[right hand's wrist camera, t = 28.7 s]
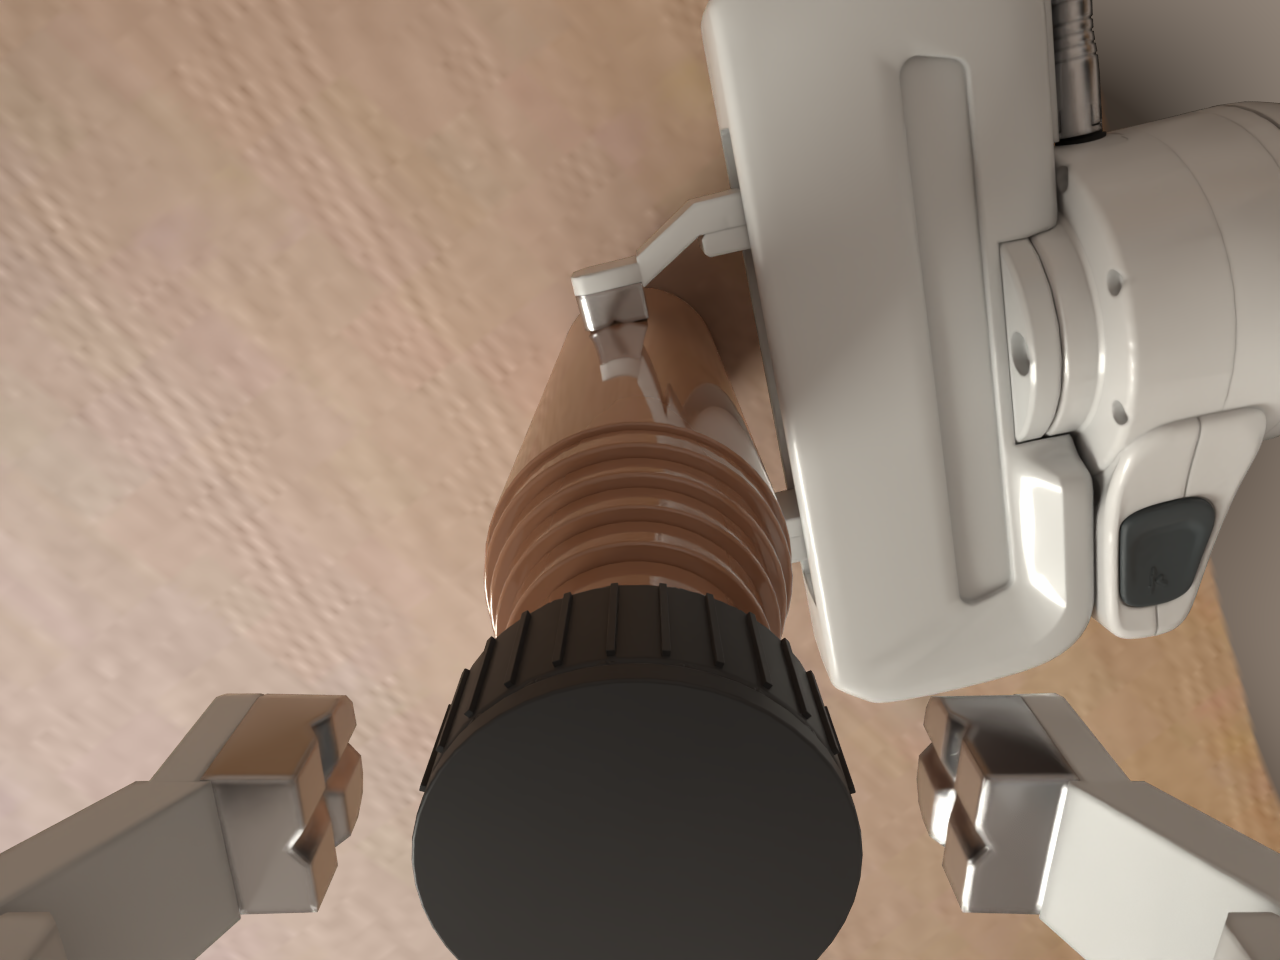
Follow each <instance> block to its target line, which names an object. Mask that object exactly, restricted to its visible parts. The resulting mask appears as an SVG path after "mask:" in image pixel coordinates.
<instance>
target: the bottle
mask: <svg viewBox="0 0 1280 960" xmlns="http://www.w3.org/2000/svg"><path fill="white" fill-rule="evenodd" d="M644 289H645V294H646V299H647V304H648V313H649V318H647V319H643V320H638V321H634V322H628V323H621V322H619V321H616V320H614V321H613V323H612V324H611V325H610V326H609V327H605V328H603V329H600V330H595V331H585V329H584V325H583V322H582V318H581V315H580V314H579V315H578V317H577V318H576V320H575V321H574V323H573V324H572V326H571V328H570V330H569V332H568V334H567V336H566V339H565V341H564V343H563V346H562V348H561V351H560V353H559V356H558V358H557V360H556V363H555V365H554V368H553V370H552V373H551V375H550V377H549V380H548V382H547V385H546V387H545V390H544V392H543V394H542V397H541V399H540V402H539V404H538V407H537V409H536V411H535V414H534V416H533V419H532V421H531V424H530V426H529V428H528V431H527V433H526V436H525V438H524V441H523V443H522V445H521V448H520V450H519V453H518V455H517V458H516V460H515V462H514V465H513V467H512V470H511V472H510V475H509V477H508V479H507V482H506V484H505V487H504V489H503V492H502V494H501V496H500V499H499V501H498V504H497V506H496V509H495V511H494V514H493V517H492V520H491V523H490V526H489V530H488V535H487V540H486V549H485V568H484V589H485V599H486V603H487V608H488V612H489V616H490V619H491V623H492V627H493V632H494V636H495V639H496V638H497V637H498V636H499V635H500V634H501V633H502V632H503V631H505V630H506V629H507V628H509V627H510V626H511V625H513V624H514V623H516V622H517V621H518V620H520V618H521V614H522V613H523V612H525V611H527V610H528V611H529V613H531V612H533V611H535V610H537V609H539V608H541V607H542V606H544V605H546V604H547V603H551V602H552V601H554V600H557V599H561V598H563V595H564V594H565V593H568V592H571V594H576V593H580V592H584V591H588V590H592V589H596V588H603V587H606V586H610V585H611V583H618V585H654V586H659V583H665V584H667V587H676V588H678V589H679V588H682V589H685V590H688V591H691V592H695V593H699V594H702V595H706V593H710V594H713V595H714V599H716V600H719V601H722V602H724V603H726V604H728V605H730V606H733V607H736V608H737V609H738V610H742V611H743V612H744V613H746V614H748V612H749V611H750V612H752V613H753V614H755V616H756V620H757V621H758V622H759V623H761V624H762V625H764V626H765V627H767V628H768V629H769V630H770V631H771V632H772V633H773V634H775V635H776V636H777V637H778V638H779V639H780V640H781V637H782V634H783V630H784V624H785V620H786V617H787V614H788V611H789V606H790V601H791V595H792V579H793V574H792V564H791V563H792V553H791V543H790V536H789V532H788V528H787V524H786V520H785V518H784V515H783V513H782V510H781V508H780V505H779V503H778V500H777V498H776V495H775V493H774V490H773V488H772V485H771V483H770V480H769V478H768V475H767V473H766V470H765V468H764V465H763V463H762V460H761V458H760V455H759V453H758V450H757V448H756V445H755V443H754V440H753V438H752V435H751V433H750V430H749V428H748V425H747V423H746V420H745V418H744V415H743V413H742V410H741V408H740V405H739V403H738V400H737V398H736V395H735V393H734V390H733V388H732V385H731V383H730V381H729V378H728V376H727V373H726V371H725V368H724V366H723V363H722V361H721V358H720V356H719V353H718V351H717V348H716V346H715V343H714V341H713V338H712V336H711V333H710V331H709V329H708V327H707V325H706V324H705V322H704V320H703V319H702V318H701V317H700V315H699V314H698V313H697V312H696V311H695V310H694V309H693V308H692V307H691V306H690V305H689V304H687V303H686V302H685V301H683V300H682V299H680V298H679V297H677V296H675V295H673V294H671V293H668V292H666V291H663V290H659V289H655V288H648V287H644Z"/></svg>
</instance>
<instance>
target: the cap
mask: <svg viewBox="0 0 1280 960" xmlns="http://www.w3.org/2000/svg"><path fill="white" fill-rule="evenodd" d="M419 791H423V792H424V795H423V798H422V801H421V804H420V806H419V809H418V812H417V816H416V821H415V826H414V831H413V836H412V865H413V872H414V879H415V885H416V888H417V891H418V895H419V898H420V901H421V904H422V907H423V909H424V911H425V913H426V915H427V917H428V919H429V921H430V923H431V925H432V927H433V929H434V930H435V932H436V933H437V934H438V936H439V937H440V939H441V940H442V942H443V943H444V945H445V946H446V947H447V948H448V949H449V951H450V952H451V953H452V954H453V955H454V956H455V957H456V958H457V959H458V960H817V959H818V958H819V957H820V956H821V954H822V953H823V952H824V951H825V950H826V949H827V947H828V946H829V945H830V944H831V943H832V941H833V940H834V938H835V937H836V935H837V934H838V932H839V930H840V929H841V927H842V926H843V924H844V923H845V920H846V918H847V916H848V914H849V911H850V909H851V907H852V905H853V903H854V900H855V896H856V892H857V888H858V885H859V881H860V876H861V866H862V856H863V853H862V839H861V829H860V825H859V821H858V817H857V813H856V809H855V806H854V803H853V800H852V797H851V794H853V793H855V788H854V785H853V782H852V779H851V776H850V773H849V770H848V767H847V764H846V761H845V758H844V755H843V752H842V750H841V747H840V744H839V741H838V738H837V735H836V732H835V729H834V726H833V723H832V720H831V717H830V714H829V711H828V708H827V706H825V707H824V704H823V701H822V698H821V695H820V692H819V689H818V686H817V683H816V680H815V677H814V674H813V673H812V671H811V670H810V671H808V672H806V671H805V669H804V668H803V666H802V664H801V663H800V661H799V660H798V659H797V658H796V656H795V655H794V654H793V653H792V650H791V646H790V643H789V641H788V640H787V639H786V638H784V639H782V640H780V639H779V638H778V637H777V636H776V635H775V634H773V633H772V632H771V631H770V630H769V629H768V628H767V627H765V626H764V625H762V624H761V623H759V622H758V621H757V620H756V616H755V614H753V613H752V612H750V611H749V612H748V614H746V613H744V612H743V611H742V610H738V609H737V608H736V607H733V606H730V605H728V604H726V603H724V602H722V601H719V600H716V599H714V595H713V594H710V593H706V595H702V594H699V593H695V592H691V591H688V590H685V589H682V588H679V589H678V588H676V587H667V584H665V583H659V586H654V585H618V583H611V585H610V586H606V587H603V588H596V589H592V590H588V591H584V592H580V593H576V594H571V592H568V593H565V594H564V595H563V598H561V599H557V600H554V601H552V602H551V603H547V604H546V605H544V606H542V607H541V608H539V609H537V610H535V611H533V612H531V613H529V611H528V610H527V611H525V612H523V613H522V614H521V618H520V620H518V621H517V622H516V623H514V624H513V625H511V626H510V627H509V628H507V629H506V630H505V631H503V632H502V633H501V634H500V635H499V636H498V637H497V638H496V639H495V638H493V637H492V636H491V637H490V638H489V639H488V640H487V643H486V646H485V649H484V651H483V653H482V654H481V655H480V656H479V658H478V659H477V660H476V662H475V663H474V664H473V665H472V667H471V669H470V670H468V669H464V671H463V673H462V675H461V678H460V681H459V684H458V686H457V689H456V692H455V695H454V698H453V701H452V704H449V705H448V708H447V711H446V714H445V717H444V720H443V722H442V725H441V728H440V731H439V734H438V737H437V740H436V742H435V745H434V748H433V751H432V754H431V757H430V760H429V762H428V765H427V768H426V771H425V774H424V777H423V780H422V782H421V785H420V789H419Z"/></svg>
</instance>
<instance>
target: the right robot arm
mask: <svg viewBox="0 0 1280 960" xmlns="http://www.w3.org/2000/svg"><path fill="white" fill-rule="evenodd" d="M355 727H356V719H355V714H354V708H353V702H352V701H351V700H350V699H349V698H348V697H347V696H346V695H304V694H265V695H264V694H224V695H221V696H218V697H216V698H215V699H214V700H213V702H212V703H211V704H210V705H209V707H208V708H207V709H206V710H205V712H204V713H203V714H202V715H201V717H200V718H199V719H198V720H197V722H196V723H195V724H194V725H193V727H192V728H191V729H190V730H189V732H188V733H187V734H186V735H185V737H184V738H183V739H182V741H181V742H180V743H179V744H178V746H177V747H176V748H175V749H174V751H173V752H172V753H171V754H170V756H169V757H168V758H167V759H166V761H165V762H164V763H163V764H162V766H161V767H160V768H159V769H158V771H157V772H156V773H155V774H154V776H153V777H152V778H151V780H150V781H135V782H134V783H132V784H130V785H128V786H126V787H124V788H122V789H120V790H119V791H117V792H115V793H113V794H111V795H109V796H107V797H105V798H104V799H102V800H100V801H98V802H96V803H94V804H92V805H90V806H89V807H87V808H85V809H83V810H81V811H79V812H77V813H75V814H74V815H72V816H70V817H68V818H66V819H64V820H62V821H60V822H59V823H57V824H55V825H53V826H51V827H49V828H47V829H46V830H44V831H42V832H40V833H38V834H36V835H34V836H32V837H31V838H29V839H27V840H25V841H23V842H21V843H19V844H17V845H16V846H14V847H12V848H10V849H8V850H6V851H4V852H2V853H1V854H0V960H195V959H196V958H197V957H198V956H199V955H201V954H202V953H203V952H204V951H205V950H206V949H207V948H208V947H209V946H211V945H212V944H213V943H214V942H215V941H216V940H217V939H218V938H220V937H221V936H222V935H223V934H224V933H225V932H226V931H227V930H229V929H230V928H231V927H232V926H233V925H234V924H235V923H236V922H237V921H239V920H240V918H241V917H240V914H270V913H305V912H318V910H319V908H320V905H321V903H322V901H323V898H324V896H325V894H326V892H327V889H328V887H329V885H330V882H331V880H332V878H333V875H334V873H335V871H336V868H337V866H338V863H337V856H336V849H335V847H336V846H337V845H339V844H340V843H341V842H343V841H344V840H345V839H347V838H348V837H349V836H351V833H352V831H353V828H354V826H355V823H356V821H357V818H358V815H359V810H360V804H361V799H362V794H363V768H362V760H361V755H360V754H359V753H358V752H357V751H356V750H355V749H354V748H353V747H352V746H351V745H350V744H349V743H348V742H349V740H350V737H351V735H352V733H353V731H354V729H355ZM924 727H925V729H926V731H927V733H928V735H929V737H930V740H931V742H932V743H931V744H930V745H929V746H928V747H927V748H926V749H925V750H924V751H923V752H922V753H921V754H920V755H919V761H918V771H917V790H918V802H919V806H920V810H921V814H922V818H923V821H924V823H925V826H926V828H927V831H928V833H929V836H931V837H932V838H933V839H935V840H936V841H937V842H939V843H940V844H941V845H943V846H944V847H945V849H944V856H943V863H942V866H943V869H944V871H945V873H946V875H947V878H948V880H949V882H950V885H951V887H952V889H953V891H954V894H955V896H956V898H957V901H958V903H959V905H960V907H961V910H962V912H973V913H1009V914H1040V916H1039V918H1040V919H1041V920H1042V921H1043V922H1044V923H1045V924H1046V925H1047V926H1049V927H1050V928H1051V929H1052V930H1053V931H1054V932H1055V933H1056V934H1058V935H1059V936H1060V937H1061V938H1062V939H1063V940H1064V941H1065V942H1066V943H1068V944H1069V945H1070V946H1071V947H1072V948H1073V949H1074V950H1075V951H1077V952H1078V953H1079V954H1080V955H1081V956H1082V957H1083V958H1084V959H1085V960H1280V854H1279V853H1277V852H1275V851H1273V850H1272V849H1270V848H1268V847H1266V846H1264V845H1262V844H1260V843H1259V842H1257V841H1255V840H1253V839H1251V838H1249V837H1247V836H1245V835H1244V834H1242V833H1240V832H1238V831H1236V830H1234V829H1232V828H1230V827H1229V826H1227V825H1225V824H1223V823H1221V822H1219V821H1217V820H1216V819H1214V818H1212V817H1210V816H1208V815H1206V814H1204V813H1202V812H1201V811H1199V810H1197V809H1195V808H1193V807H1191V806H1189V805H1188V804H1186V803H1184V802H1182V801H1180V800H1178V799H1176V798H1174V797H1173V796H1171V795H1169V794H1167V793H1165V792H1163V791H1161V790H1160V789H1158V788H1156V787H1154V786H1152V785H1150V784H1148V783H1146V782H1145V781H1130V780H1129V778H1128V777H1127V776H1126V775H1125V773H1124V772H1123V771H1122V770H1121V768H1120V767H1119V766H1118V765H1117V763H1116V762H1115V761H1114V760H1113V758H1112V757H1111V756H1110V755H1109V753H1108V752H1107V751H1106V749H1105V748H1104V747H1103V746H1102V744H1101V743H1100V742H1099V741H1098V739H1097V738H1096V737H1095V736H1094V734H1093V733H1092V732H1091V731H1090V729H1089V728H1088V727H1087V726H1086V724H1085V723H1084V722H1083V721H1082V719H1081V718H1080V717H1079V716H1078V714H1077V713H1076V712H1075V711H1074V709H1073V708H1072V707H1071V706H1070V704H1069V703H1068V702H1067V701H1066V699H1065V698H1064V697H1062V696H1060V695H1058V694H1056V693H1039V694H1014V695H998V696H931V697H930V700H929V702H928V704H927V707H926V712H925V718H924Z"/></svg>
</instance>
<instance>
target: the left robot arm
mask: <svg viewBox="0 0 1280 960" xmlns="http://www.w3.org/2000/svg"><path fill="white" fill-rule="evenodd" d="M1092 15H1093V13H1092V0H709V1H708V3H707V6H706V8H705V10H704V13H703V16H702V21H701V33H702V39H703V44H704V50H705V55H706V61H707V66H708V71H709V77H710V82H711V87H712V93H713V98H714V103H715V109H716V114H717V119H718V125H719V130H720V136H721V141H722V146H723V152H724V157H725V162H726V168H727V173H728V178H729V184H730V189H729V190H725V191H721V192H717V193H713V194H709V195H705V196H701V197H698V198H694V199H690V200H688V201H687V202H686V203H685V204H684V205H683V206H682V207H681V208H680V209H679V210H678V211H677V212H676V213H675V214H674V215H673V216H671V217H670V218H669V219H668V220H667V221H666V222H665V223H664V224H663V225H662V226H661V227H660V228H659V229H658V230H657V231H656V232H655V233H654V234H653V235H652V236H651V237H650V238H649V239H648V240H647V241H646V242H645V243H644V244H643V245H642V246H641V247H640V248H639V249H638V250H637V251H636V256H632V257H628V258H624V259H620V260H615V261H611V262H607V263H603V264H599V265H595V266H591V267H587V268H584V269H582V270H579V271H576V272H574V273H573V274H572V276H571V281H572V285H573V289H574V293H575V295H576V296H575V297H576V300H577V304H578V307H579V311H580V315H581V318H582V322H583V325H584V329H585V331H595V330H600V329H603V328H605V327H609V326H610V325H611V324H612V323H613V321H614V320H616V321H619V322H621V323H628V322H634V321H638V320H643V319H647V318H649V313H648V304H647V299H646V294H645V289H644V287H645V286H646V285H647V284H648V283H649V282H650V281H651V280H653V279H654V278H655V277H656V276H657V275H658V274H659V273H660V272H661V271H662V270H663V269H664V268H665V267H666V266H667V265H669V264H670V263H671V262H672V261H673V260H674V259H675V258H676V257H677V256H678V255H679V254H680V253H681V252H682V251H684V250H685V249H686V248H687V247H688V246H689V245H690V244H691V243H692V242H693V241H694V240H695V239H696V238H697V237H698V241H699V246H700V247H701V249H702V250H703V252H704V253H705V255H707V256H709V257H714V256H718V255H723V254H727V253H732V252H736V251H741V250H742V253H743V258H744V264H745V269H746V274H747V280H748V285H749V290H750V296H751V301H752V306H753V312H754V317H755V322H756V328H757V333H758V338H759V344H760V349H761V354H762V360H763V365H764V370H765V376H766V381H767V387H768V392H769V397H770V403H771V408H772V413H773V419H774V424H775V429H776V435H777V440H778V445H779V451H780V456H781V461H782V467H783V472H784V477H785V483H786V488H787V490H785V491H781V492H776V493H775V495H776V498H777V500H778V503H779V505H780V508H781V510H782V513H783V515H784V518H785V520H786V524H787V528H788V532H789V536H790V543H791V553H792V563H795V562H800V563H801V568H802V573H803V579H804V584H805V589H806V595H807V600H808V605H809V611H810V616H811V621H812V627H813V632H814V636H815V640H816V643H817V646H818V649H819V652H820V655H821V658H822V661H823V663H824V666H825V668H826V671H827V673H828V676H829V678H830V681H831V683H832V684H833V686H834V687H836V688H837V689H839V690H841V691H843V692H845V693H847V694H850V695H852V696H855V697H857V698H860V699H863V700H866V701H868V702H873V703H887V702H895V701H902V700H908V699H914V698H919V697H924V696H929V695H934V694H939V693H943V692H948V691H952V690H956V689H961V688H965V687H969V686H973V685H977V684H981V683H985V682H989V681H992V680H996V679H999V678H1003V677H1006V676H1010V675H1013V674H1017V673H1020V672H1023V671H1026V670H1029V669H1032V668H1035V667H1037V666H1040V665H1042V664H1044V663H1046V662H1048V661H1050V660H1052V659H1054V658H1056V657H1057V656H1059V655H1061V654H1062V653H1063V652H1065V651H1066V650H1067V649H1069V648H1070V647H1071V646H1072V645H1073V644H1074V643H1075V642H1076V641H1077V640H1078V639H1079V638H1080V636H1081V635H1082V633H1083V632H1084V630H1085V629H1086V627H1087V625H1088V623H1089V620H1090V618H1091V616H1092V617H1093V618H1094V619H1095V620H1096V621H1098V622H1099V623H1100V624H1101V625H1103V626H1104V627H1105V628H1106V629H1108V630H1109V631H1110V632H1111V633H1113V634H1114V635H1116V636H1118V637H1120V638H1125V639H1137V638H1145V637H1151V636H1156V635H1160V634H1163V633H1166V632H1169V631H1171V630H1173V629H1175V628H1176V627H1178V626H1179V625H1180V624H1181V623H1182V622H1183V621H1184V620H1185V618H1186V617H1187V615H1188V613H1189V612H1190V609H1191V607H1192V605H1193V602H1194V600H1195V597H1196V595H1197V592H1198V589H1199V586H1200V583H1201V580H1202V577H1203V574H1204V571H1205V569H1206V566H1207V563H1208V560H1209V558H1210V555H1211V552H1212V549H1213V547H1214V544H1215V542H1216V539H1217V537H1218V534H1219V531H1220V529H1221V527H1222V524H1223V522H1224V519H1225V517H1226V515H1227V512H1228V510H1229V508H1230V505H1231V503H1232V501H1233V499H1234V497H1235V495H1236V493H1237V491H1238V489H1239V487H1240V484H1241V482H1242V481H1243V479H1244V477H1245V475H1246V473H1247V471H1248V469H1249V468H1250V466H1251V464H1252V462H1253V460H1254V459H1255V457H1256V455H1257V453H1258V451H1259V449H1260V446H1261V443H1262V441H1264V440H1268V439H1272V438H1275V437H1278V436H1280V103H1270V102H1238V103H1231V104H1223V105H1217V106H1213V107H1210V108H1206V109H1201V110H1197V111H1193V112H1189V113H1185V114H1180V115H1177V116H1172V117H1168V118H1164V119H1160V120H1156V121H1152V122H1148V123H1144V124H1140V125H1135V126H1131V127H1127V128H1123V129H1119V130H1114V131H1110V132H1102V110H1101V92H1100V71H1099V61H1098V55H1097V54H1096V51H1097V47H1096V43H1094V40H1095V36H1094V31H1092V28H1093V19H1092V18H1091V16H1092ZM1054 143H1055V146H1054Z"/></svg>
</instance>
